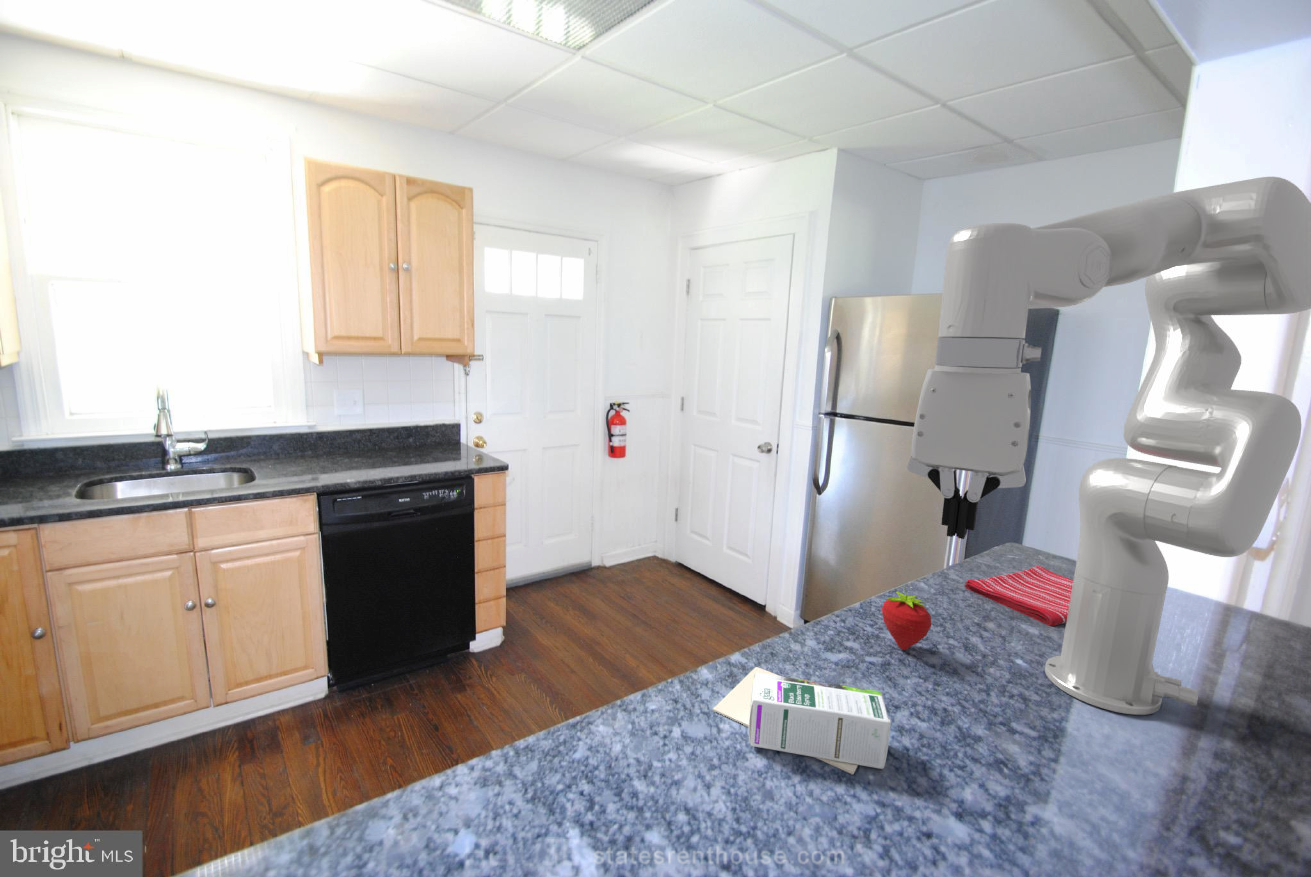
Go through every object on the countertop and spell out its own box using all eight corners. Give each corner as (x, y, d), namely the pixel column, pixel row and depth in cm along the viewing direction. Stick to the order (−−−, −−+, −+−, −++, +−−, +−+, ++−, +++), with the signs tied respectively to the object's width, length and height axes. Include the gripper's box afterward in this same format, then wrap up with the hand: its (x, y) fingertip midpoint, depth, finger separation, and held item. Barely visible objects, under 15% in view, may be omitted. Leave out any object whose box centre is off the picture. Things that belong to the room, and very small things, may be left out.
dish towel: (959, 590, 111) (961, 577, 111) (1036, 574, 121) (1038, 562, 121) (1051, 631, 96) (1054, 616, 96) (1130, 608, 106) (1133, 595, 106)
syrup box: (891, 722, 60) (751, 697, 63) (885, 772, 61) (746, 745, 64) (882, 691, 66) (753, 669, 69) (876, 737, 67) (749, 714, 70)
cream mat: (883, 717, 71) (883, 715, 70) (853, 774, 61) (853, 772, 61) (755, 668, 80) (756, 666, 80) (712, 711, 70) (712, 708, 70)
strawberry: (907, 666, 82) (915, 600, 81) (868, 640, 89) (875, 579, 88) (937, 658, 85) (945, 594, 83) (897, 634, 92) (904, 574, 90)
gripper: (1069, 359, 56) (1043, 539, 59) (905, 354, 65) (890, 512, 68) (1070, 361, 50) (1041, 561, 53) (889, 355, 58) (873, 529, 62)
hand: (957, 533), depth 60 cm, fingers closed
